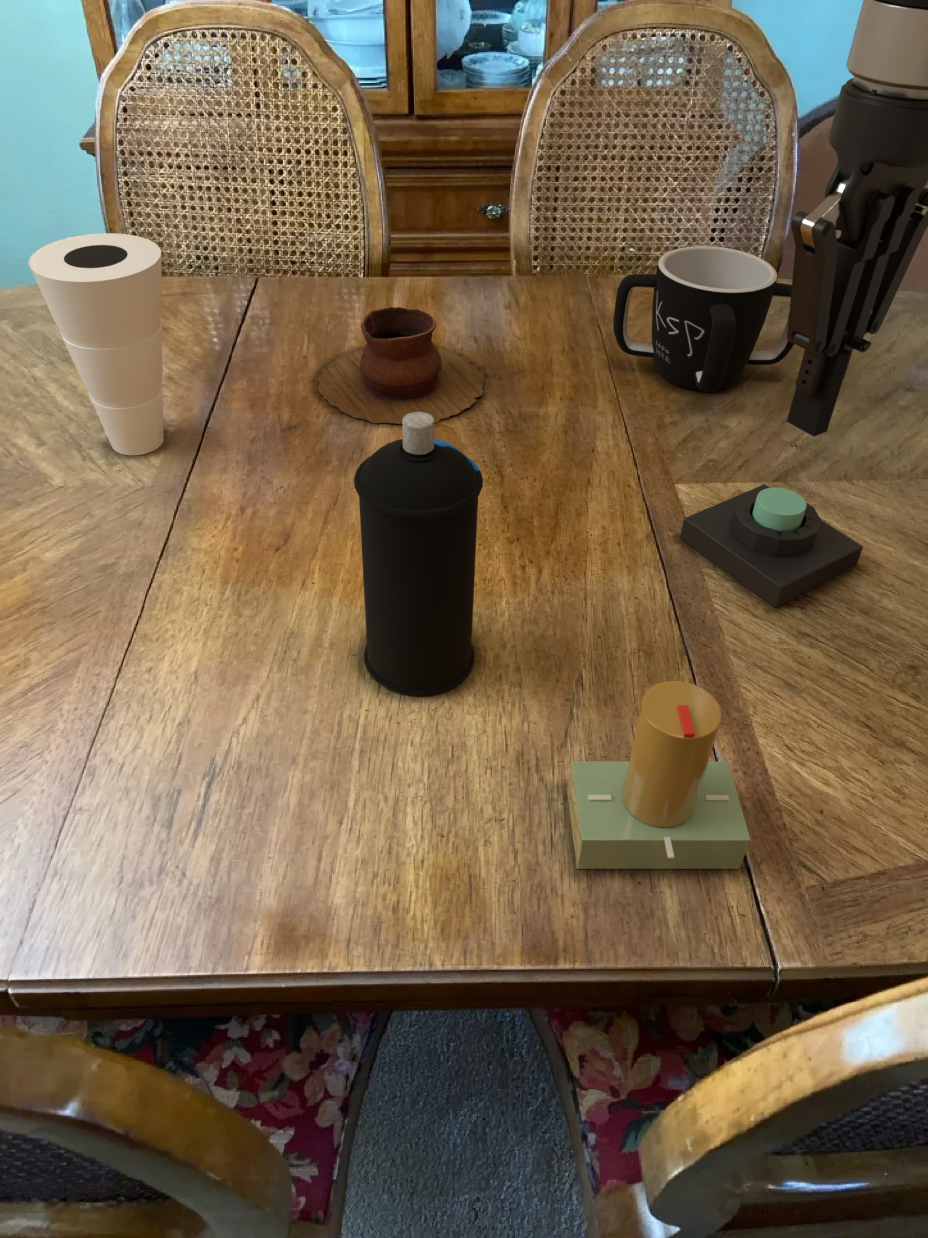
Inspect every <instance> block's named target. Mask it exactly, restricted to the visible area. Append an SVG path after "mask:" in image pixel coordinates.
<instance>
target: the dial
mask: <svg viewBox="0 0 928 1238" xmlns="http://www.w3.org/2000/svg"><path fill="white" fill-rule="evenodd" d="M722 716H723V715H722V709H721V706H720V704H719V702H718V701H717V699H716V698H715V697H714V695H712V694H711V693H710V692H709V691H707V690H706V689H705V688H703V687H701V686H699V685H697V684H694V683H691V682H688V681H683V680H665V681H661V682H659V683H656V684H654V685H652V686H651V687H649V688H648V689H647V690H646V692H645V693H644V694H643V696H642V698H641V704H640V708H639V712H638V717H637V722H636V726H635V731H634V736H633V740H632V745H631V749H630V754H629V758H628V761H629V763H628V767H627V772H626V776H625V781H624V786H623V791H622V796H623V801H624V803H625V805H626V807H627V809H628V810H629V811H630V813H631V814H632V815H633V816H634V817H636V818H637V819H638V820H640V821H642V822H644V823H646V824H648V825H651V826H655V827H663V828H666V827H674V826H677V825H680V824H682V823H684V822H685V821H686V820H688V819H689V818H690V816H691V815H692V813H693V811H694V809H695V805H696V802H697V799H698V795H699V792H700V789H701V785H702V782H703V779H704V776H705V772H706V769H707V766H708V762H710V758H711V756H712V752H713V749H714V747H715V742H716V739H717V735H718V733H719V729H720V726H721V722H722V718H723V717H722Z"/></svg>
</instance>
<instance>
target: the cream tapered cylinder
mask: <svg viewBox="0 0 928 1238" xmlns="http://www.w3.org/2000/svg"><path fill="white" fill-rule="evenodd" d="M28 267H29V268H30V270H31V273H32V275H33V277H34V280H35V282H36V284H37V285H38V289H39V291H40V293H41V295H42V297H43V299H44V301H45V303H46V305H47V308H48V310H49V312H50V314H51V316H52V318H53V321H54V324H55V325H56V328H57V329H58V330H59V331H60V335H61V338H62V340H63V342H64V344H65V346H66V349H67V351H68V353H69V355H70V358H71V359H72V362H73V364H74V366H75V369H76V371H77V373H78V374H79V377H80V379H81V381H82V383H83V386H84V388H85V390H86V392H87V393H88V395H89V399H90V401H91V404H92V406H93V408H94V410H95V412H96V414H97V417H98V419H99V421H100V423H101V425H102V428H103V430H104V432H105V434H106V437H107V439H108V441H109V444H110V445H111V448H112V449H113V450H114V451H115V452H116V453H118V454H121V455H123V456H124V455H125V456H142V455H145V454H148V453H151V452H154V451H156V450H158V449H159V448H160V447H161V446H163V442H164V387H163V385H162V383H163V322H162V317H163V287H162V285H163V283H162V282H163V281H162V279H163V278H162V277H163V276H162V250H161V247H160V246H159V245H158V244H157V243H155V242H154V241H152V240H150V239H147V238H146V237H141V236H139V235H134V234H128V233H127V234H126V233H117V232H116V233H114V232H113V233H111V232H108V233H106V232H105V233H104V232H103V233H101V232H100V233H88V234H83V235H82V234H81V235H75V236H69V237H66V238H62V239H59V240H55V241H52V242H50V243H47V244H45V245H44V246H42V247H40V248H38V249H37V250H35V251H34V252H33V253H32V254H31V255H30V257H29V259H28Z"/></svg>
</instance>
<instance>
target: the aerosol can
mask: <svg viewBox="0 0 928 1238" xmlns="http://www.w3.org/2000/svg"><path fill="white" fill-rule="evenodd" d="M401 425H402V438H400V439H397V440H393V441H391V442H388V443H386V444H385V445H383V446H381V447H379V448H378V449H377V450H376V451H375V452H373V453H372V454H371V455H369V456H368V457H367V458H365V460H363V461H362V462H361V463H360V464H359V466H358V467H357V469H356V470H355V474H354V477H353V484H354V485H353V486H354V489H355V492H356V493H357V496H358V504H359V520H360V521H359V522H360V543H361V559H362V574H363V575H362V578H363V579H362V580H363V597H364V616H365V618H364V619H365V633H366V634H365V636H366V637H365V638H366V645H365V647H364V652H363V661H364V665H365V668H366V671H367V672H368V674H369V675H370V676H371V678H372V679H373V680H374V681H376V682H377V683H378V684H380V685H381V686H382V687H384V688H386V689H387V690H390V691H392V692H395V693H399V694H403V695H408V696H431V695H434V694H440V693H442V692H446V691H448V690H450V689H452V688H454V687H456V686H457V685H459V684H461V682H463V681H464V680H465V679H466V678H467V676H468V675H469V674H470V672H471V671H472V668H473V666H474V663H475V655H476V654H475V649H474V646H473V643H472V641H473V620H474V600H475V599H474V597H475V575H476V574H475V573H476V553H477V551H476V550H477V534H478V533H477V532H478V531H477V530H478V528H477V527H478V510H479V496H480V494H481V492H482V490H483V487H484V478H483V475H482V474H483V473H482V471H481V469H480V468H479V466H478V464H476V463H475V462H474V461H473V460H472V458H469V457H468V456H466V454H465V453H463V452H462V451H461V450H459V449H458V448H457V447H456V446H454V445H452V444H450V443H449V442H446V441H443V440H441V439H436V438H435V423H434V418H433V417H432V416H431V415H430V414H427V413H424V412H412V413H409V414H407V415H406V416H404V417H403V420H402V424H401Z"/></svg>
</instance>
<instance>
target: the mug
mask: <svg viewBox="0 0 928 1238" xmlns="http://www.w3.org/2000/svg"><path fill="white" fill-rule="evenodd" d="M777 280H778V272H777V271H776V269H775V268H774V267H773V266H772V265H771V264H770V263H769V262H767V261H766V260H765V259H762V258H761V257H760V256H759V257H758V256H756V255H755V254H751V253H748V252H745V251H743V250H739V249H734V248H728V247H721V246H713V245H712V246H708V245H697V246H696V245H695V246H686V247H685V246H684V247H680V248H676V249H673V250H670V251H668V252H666V253H664V254H663V255H661V256H660V258H659V259H658V261H657V265H656V271H655V273H635V274H634V273H633V274H627V275H626V276H624V278H623V279H622V280H621V281H620V283H619V285H618V287H617V290H616V297H615V301H614V309H613V319H612V321H613V323H612V324H613V325H612V327H613V333H614V337H615V341H616V343H617V345H618V347H619V348H620V350H621V351H623V352H624V353H625V354H628V355H631V356H635V357H642V358H653V364H654V368H655V370H656V373H657V374H658V375H659V376H660V377H661V378H663V379H664V380H666V381H667V382H668V383H671V384H673V385H675V386H678V387H680V388H684V389H689V390H696V391H701V392H705V393H713V392H717V391H718V390H720V389H723V388H727V387H729V386H731V385H732V384H734V383H735V382H736V381H737V380H738V379H739V378H740V375H741V374H742V373H743V371H744V370H745V368H746V366H747V365H750V366H772V365H775V364H778V363H779V362H781V361H782V360H783V359H785V358H786V357H787V355H788V354H789V353H790V352H791V350H792V349H793V348H794V345H795V344H793V343H791V342H789V341H788V340H787V333H788V322H789V314H788V316H787V319H786V323H785V327H784V330H783V332H782V335H781V337H780V338H779V341H778V342H777V343H776V345H774V346H773V348H771V349H768V350H767V349H766V350H754V349H755V346H756V344H757V342H758V339H759V337H760V334H761V332H762V330H763V327H764V324H765V321H766V319H767V316H768V312H769V310H770V307H771V304H772V300H773V298H774V297H775V298H776V297H778V298H790V299H791V290H792V284H791V283H782V282H777ZM634 288H647V289H653V296H652V307H651V342H644V341H636V340H632V339H631V338H630V336H629V333H628V314H629V308H630V302H631V297H632V293H633V290H634Z"/></svg>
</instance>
